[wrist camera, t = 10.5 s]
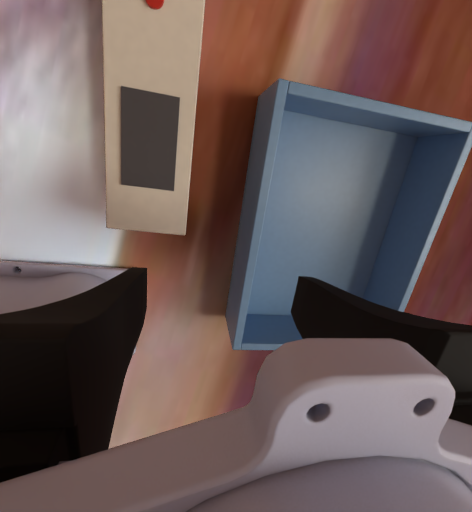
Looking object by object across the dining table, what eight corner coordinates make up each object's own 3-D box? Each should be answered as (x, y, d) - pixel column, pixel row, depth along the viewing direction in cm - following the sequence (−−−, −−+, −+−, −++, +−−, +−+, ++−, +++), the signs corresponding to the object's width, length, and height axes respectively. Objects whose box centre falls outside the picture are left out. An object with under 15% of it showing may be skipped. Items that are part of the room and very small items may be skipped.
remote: (118, 217, 19) (105, 229, 16) (117, -24, 14) (98, -70, 11) (186, 224, 20) (185, 236, 17) (204, 0, 15) (208, -37, 12)
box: (225, 316, 23) (232, 350, 19) (258, 96, 18) (278, 77, 13) (357, 320, 26) (388, 351, 22) (422, 130, 20) (481, 123, 16)
